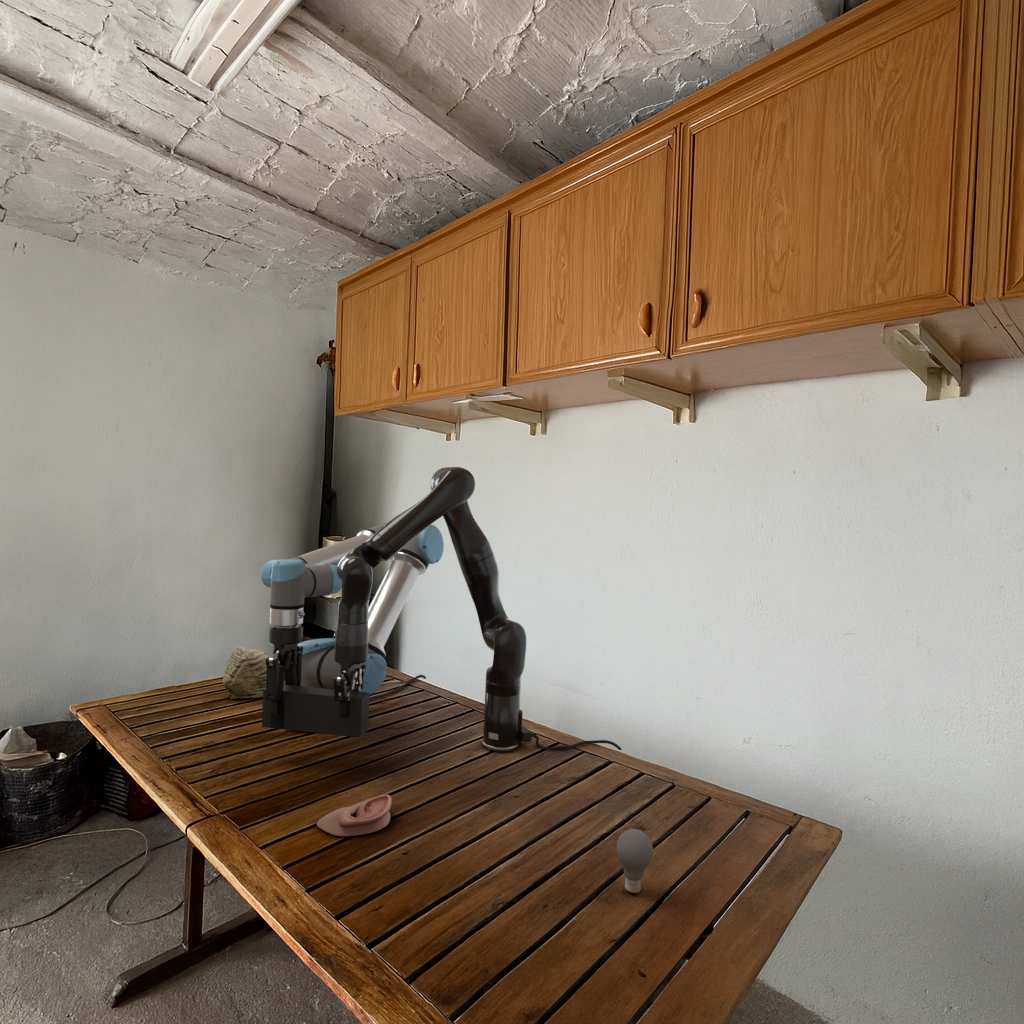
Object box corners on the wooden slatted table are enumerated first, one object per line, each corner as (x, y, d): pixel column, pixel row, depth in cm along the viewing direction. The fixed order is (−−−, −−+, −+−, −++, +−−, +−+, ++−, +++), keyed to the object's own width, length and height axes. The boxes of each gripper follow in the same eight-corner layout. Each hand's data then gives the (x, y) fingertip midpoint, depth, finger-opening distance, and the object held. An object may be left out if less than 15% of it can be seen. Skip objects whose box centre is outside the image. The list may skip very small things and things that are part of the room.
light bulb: (610, 879, 108) (613, 822, 108) (644, 879, 109) (647, 822, 109) (619, 902, 102) (622, 840, 102) (655, 901, 103) (658, 840, 103)
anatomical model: (309, 810, 119) (337, 784, 131) (308, 831, 119) (337, 803, 131) (375, 821, 117) (398, 793, 128) (374, 842, 117) (397, 812, 128)
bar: (261, 727, 148) (263, 689, 148) (272, 720, 153) (273, 683, 153) (360, 737, 145) (361, 698, 144) (368, 730, 149) (369, 692, 149)
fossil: (218, 695, 195) (220, 647, 195) (278, 685, 208) (279, 640, 207) (228, 703, 189) (230, 653, 188) (289, 692, 201) (290, 645, 201)
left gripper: (281, 634, 140) (278, 738, 141) (318, 619, 158) (314, 712, 158) (250, 631, 141) (246, 735, 142) (290, 617, 159) (286, 709, 159)
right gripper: (354, 649, 139) (351, 726, 140) (378, 635, 154) (375, 705, 154) (322, 646, 141) (319, 722, 141) (349, 633, 155) (346, 702, 155)
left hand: (282, 723), depth 150 cm, fingers closed on bar, 5 cm apart
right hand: (349, 713), depth 147 cm, fingers closed on bar, 4 cm apart
